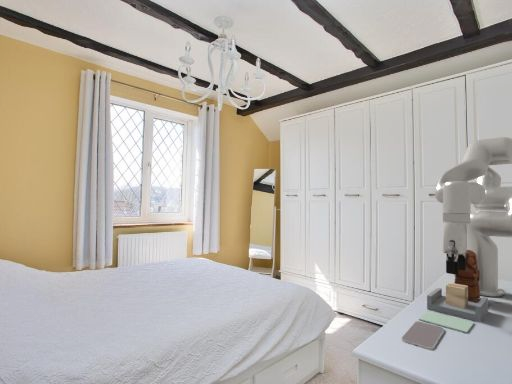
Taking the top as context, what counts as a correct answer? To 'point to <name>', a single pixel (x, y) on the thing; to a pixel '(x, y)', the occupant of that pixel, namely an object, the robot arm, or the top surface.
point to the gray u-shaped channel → (469, 312)
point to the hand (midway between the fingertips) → (456, 271)
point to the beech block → (457, 295)
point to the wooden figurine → (470, 277)
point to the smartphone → (423, 335)
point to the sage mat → (447, 321)
